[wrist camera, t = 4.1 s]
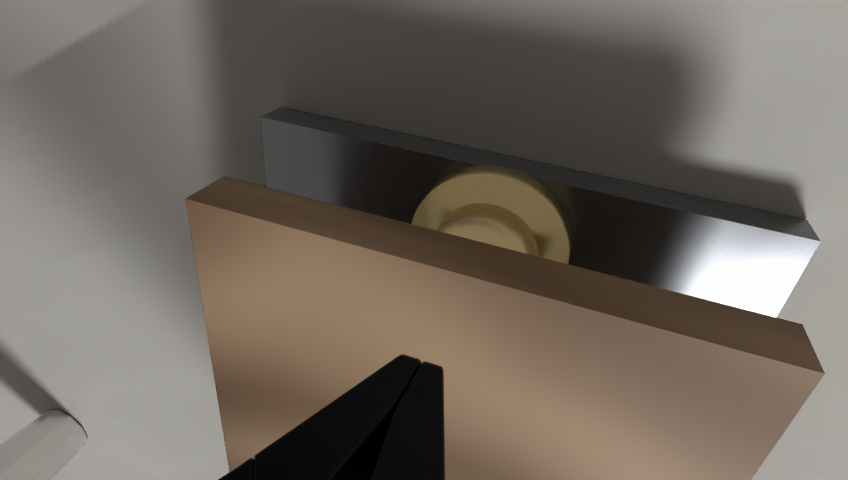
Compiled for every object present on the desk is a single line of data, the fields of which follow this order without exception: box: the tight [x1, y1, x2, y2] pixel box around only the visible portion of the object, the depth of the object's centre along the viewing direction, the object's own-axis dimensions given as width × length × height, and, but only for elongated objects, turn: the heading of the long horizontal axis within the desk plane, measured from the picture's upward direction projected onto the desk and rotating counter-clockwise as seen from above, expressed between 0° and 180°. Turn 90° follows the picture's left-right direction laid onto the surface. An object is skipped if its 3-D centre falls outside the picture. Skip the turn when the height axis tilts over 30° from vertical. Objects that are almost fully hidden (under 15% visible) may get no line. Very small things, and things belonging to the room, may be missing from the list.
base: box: [261, 107, 821, 318], centre depth 18 cm, size 16×16×4 cm
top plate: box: [186, 176, 825, 480], centre depth 16 cm, size 15×14×3 cm
